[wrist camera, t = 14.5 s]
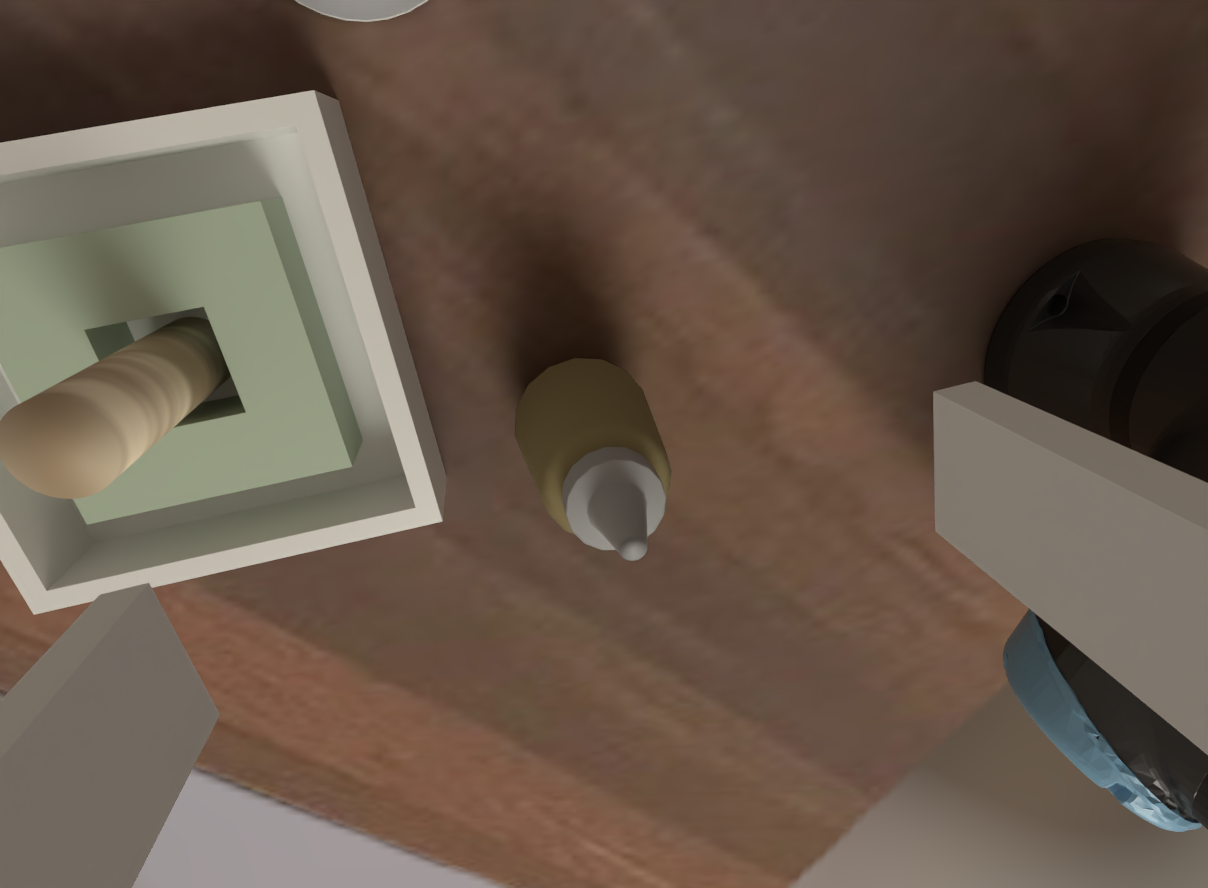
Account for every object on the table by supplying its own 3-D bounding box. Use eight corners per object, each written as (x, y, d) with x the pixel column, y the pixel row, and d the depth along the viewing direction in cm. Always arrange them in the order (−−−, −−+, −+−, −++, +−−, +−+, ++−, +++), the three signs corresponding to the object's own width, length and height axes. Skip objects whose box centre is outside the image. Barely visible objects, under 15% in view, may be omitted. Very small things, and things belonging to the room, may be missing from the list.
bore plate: (281, 196, 36) (260, 200, 33) (362, 439, 42) (352, 466, 38) (-1, 248, 35) (-57, 258, 31) (121, 491, 41) (86, 524, 37)
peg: (221, 310, 38) (90, 388, 25) (247, 379, 39) (138, 485, 27) (144, 324, 37) (-27, 411, 25) (175, 394, 39) (29, 509, 26)
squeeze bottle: (497, 448, 45) (510, 617, 28) (528, 327, 42) (563, 435, 26) (615, 473, 47) (692, 643, 30) (653, 359, 44) (758, 478, 28)
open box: (338, 100, 36) (314, 90, 30) (446, 477, 45) (442, 521, 39) (-117, 177, 34) (-231, 181, 28) (90, 556, 43) (34, 614, 37)
